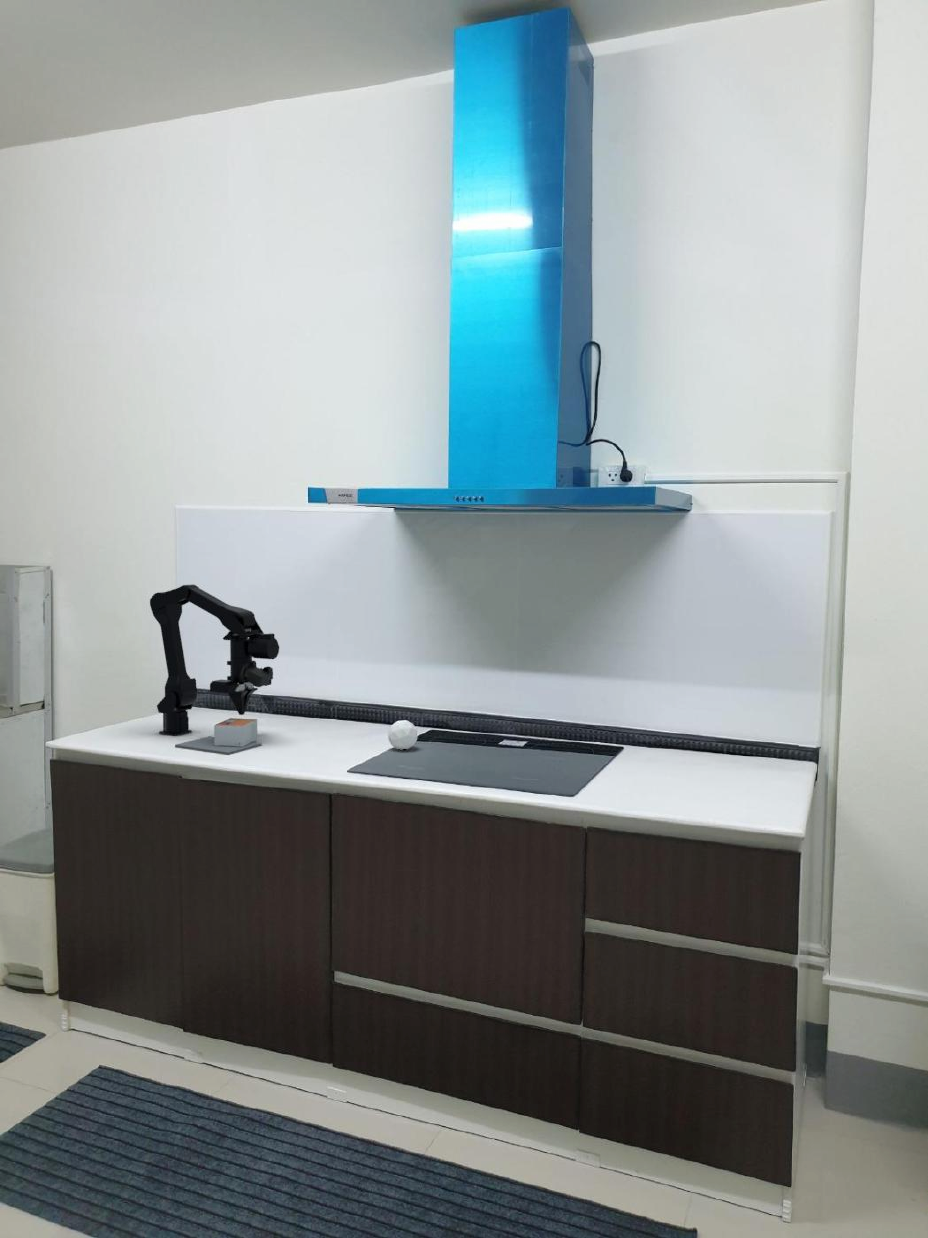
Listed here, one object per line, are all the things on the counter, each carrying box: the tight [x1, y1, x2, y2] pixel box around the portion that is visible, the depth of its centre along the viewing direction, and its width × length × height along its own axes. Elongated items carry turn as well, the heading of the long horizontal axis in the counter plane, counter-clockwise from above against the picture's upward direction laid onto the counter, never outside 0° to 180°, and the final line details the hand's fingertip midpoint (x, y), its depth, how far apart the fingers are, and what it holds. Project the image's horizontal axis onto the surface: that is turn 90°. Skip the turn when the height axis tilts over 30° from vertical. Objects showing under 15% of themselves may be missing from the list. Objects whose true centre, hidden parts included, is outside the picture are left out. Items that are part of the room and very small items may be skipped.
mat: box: [174, 735, 263, 756], centre depth 251 cm, size 18×13×1 cm
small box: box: [213, 717, 258, 747], centre depth 253 cm, size 8×6×10 cm
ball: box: [387, 719, 418, 751], centre depth 251 cm, size 8×8×8 cm
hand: (241, 714), depth 259 cm, fingers closed
